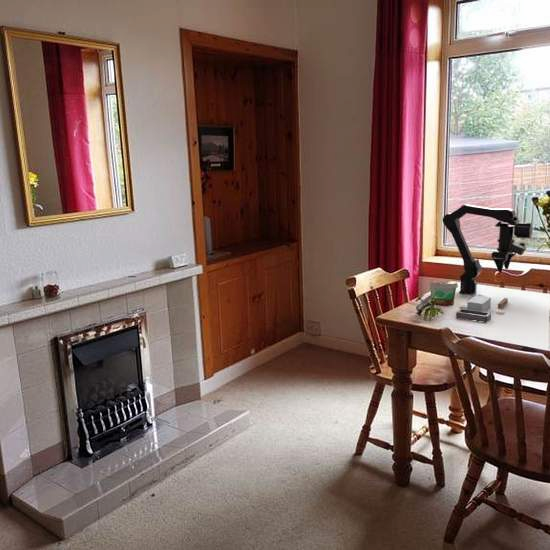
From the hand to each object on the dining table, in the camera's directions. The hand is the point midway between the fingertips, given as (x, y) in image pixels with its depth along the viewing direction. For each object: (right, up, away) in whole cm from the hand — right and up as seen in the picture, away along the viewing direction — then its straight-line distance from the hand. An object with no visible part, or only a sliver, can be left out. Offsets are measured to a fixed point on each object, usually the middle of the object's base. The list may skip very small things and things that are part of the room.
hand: (503, 270), depth 253 cm
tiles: (-17, -17, -19) cm, 31 cm away
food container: (-31, -15, -10) cm, 36 cm away
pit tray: (-24, -19, -30) cm, 43 cm away
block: (-18, -17, -19) cm, 31 cm away
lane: (-10, -15, -9) cm, 20 cm away
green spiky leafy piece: (-41, -19, -26) cm, 53 cm away
